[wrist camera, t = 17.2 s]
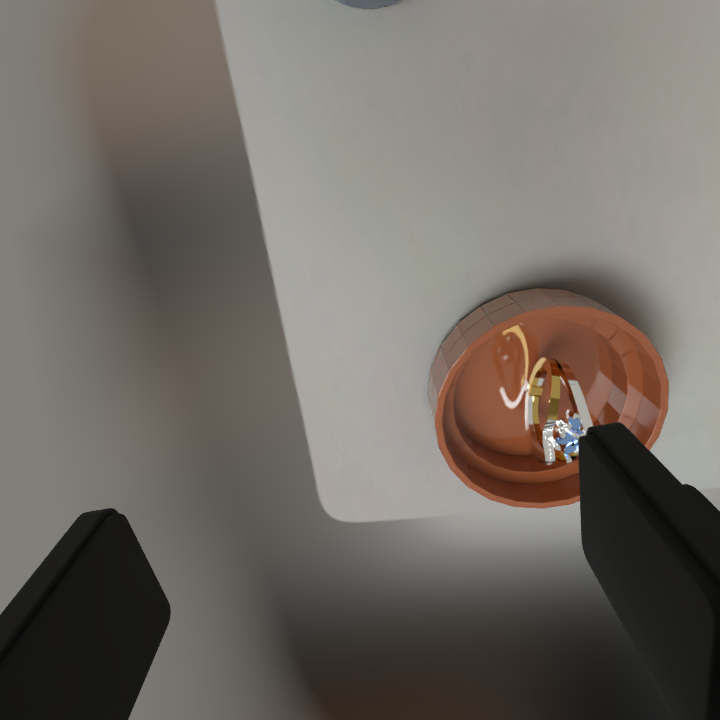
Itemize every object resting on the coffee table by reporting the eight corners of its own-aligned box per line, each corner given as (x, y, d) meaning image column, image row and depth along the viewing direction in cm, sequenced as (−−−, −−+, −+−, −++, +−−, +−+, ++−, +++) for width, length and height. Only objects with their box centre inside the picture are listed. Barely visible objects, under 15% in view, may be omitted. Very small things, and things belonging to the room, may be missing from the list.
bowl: (442, 480, 40) (451, 522, 35) (412, 309, 34) (418, 332, 30) (630, 450, 38) (665, 490, 33) (630, 266, 33) (672, 283, 28)
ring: (520, 340, 34) (560, 389, 27) (564, 344, 34) (617, 394, 27) (501, 425, 37) (533, 490, 29) (542, 428, 37) (584, 495, 29)
